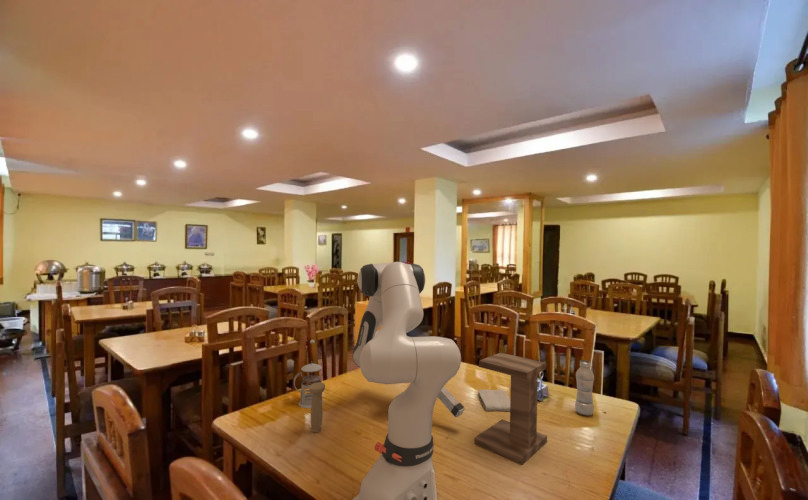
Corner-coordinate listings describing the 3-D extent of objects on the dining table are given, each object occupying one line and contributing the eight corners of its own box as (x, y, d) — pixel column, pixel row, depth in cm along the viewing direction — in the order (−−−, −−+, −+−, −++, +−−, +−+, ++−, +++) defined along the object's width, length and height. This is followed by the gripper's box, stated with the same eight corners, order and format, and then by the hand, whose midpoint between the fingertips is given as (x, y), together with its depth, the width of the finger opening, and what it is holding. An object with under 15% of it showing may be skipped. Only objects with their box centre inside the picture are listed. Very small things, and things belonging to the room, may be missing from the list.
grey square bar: (455, 417, 120) (460, 411, 119) (414, 371, 133) (417, 364, 132) (461, 414, 123) (465, 408, 121) (419, 369, 136) (423, 363, 135)
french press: (325, 406, 139) (326, 341, 139) (294, 410, 135) (295, 344, 135) (321, 396, 148) (322, 336, 148) (292, 400, 144) (293, 338, 144)
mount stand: (522, 465, 102) (523, 374, 103) (474, 443, 113) (475, 361, 114) (547, 441, 115) (548, 361, 116) (501, 424, 126) (503, 351, 127)
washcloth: (503, 395, 155) (503, 387, 155) (516, 413, 137) (516, 405, 137) (476, 394, 155) (476, 387, 155) (485, 412, 137) (485, 404, 137)
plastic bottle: (574, 415, 135) (575, 362, 135) (575, 408, 141) (576, 358, 141) (593, 419, 132) (594, 365, 132) (593, 412, 138) (594, 360, 138)
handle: (306, 435, 117) (307, 389, 117) (312, 425, 123) (313, 382, 123) (320, 436, 116) (321, 389, 116) (326, 426, 123) (327, 382, 123)
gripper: (381, 364, 133) (408, 373, 123) (417, 353, 148) (444, 361, 138) (380, 381, 133) (408, 391, 123) (417, 368, 148) (443, 377, 138)
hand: (427, 375), depth 131 cm, fingers closed on grey square bar, 3 cm apart
